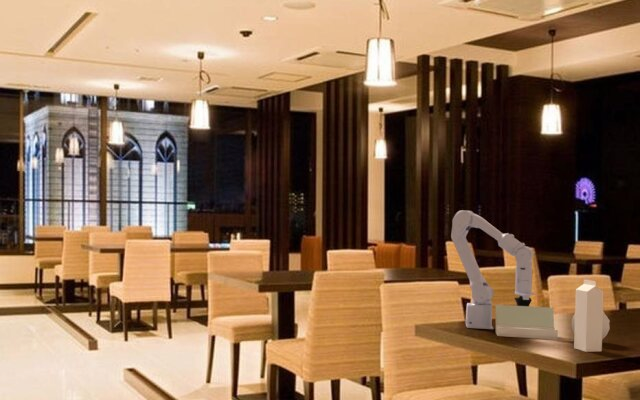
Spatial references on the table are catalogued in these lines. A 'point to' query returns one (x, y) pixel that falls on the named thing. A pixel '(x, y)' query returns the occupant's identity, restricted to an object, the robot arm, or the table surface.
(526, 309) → the duct lid
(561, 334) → the table surface
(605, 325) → the decorative ball
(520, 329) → the cable duct
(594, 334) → the milk
